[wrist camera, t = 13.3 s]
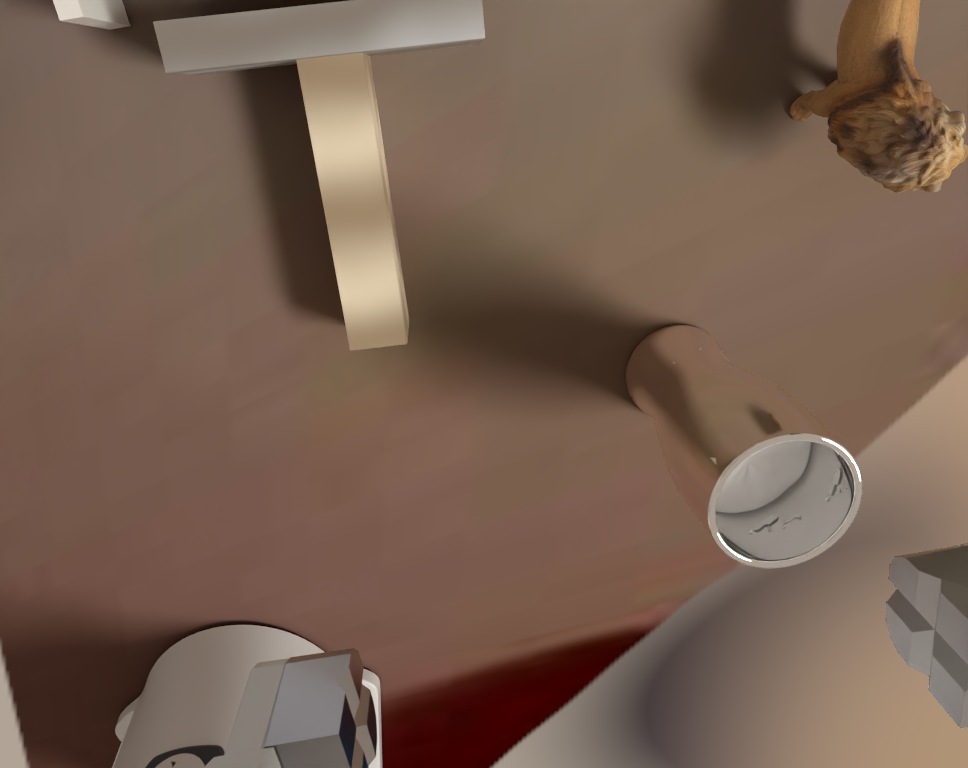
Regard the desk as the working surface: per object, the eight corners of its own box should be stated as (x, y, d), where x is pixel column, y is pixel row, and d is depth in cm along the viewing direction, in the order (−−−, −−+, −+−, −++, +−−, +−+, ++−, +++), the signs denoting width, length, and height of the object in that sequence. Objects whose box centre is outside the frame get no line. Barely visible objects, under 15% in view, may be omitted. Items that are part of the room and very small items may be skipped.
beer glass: (752, 373, 44) (898, 506, 30) (661, 443, 45) (761, 600, 31) (687, 293, 41) (813, 395, 28) (594, 369, 43) (670, 502, 29)
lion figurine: (885, 162, 39) (1006, 182, 31) (791, 188, 40) (886, 214, 31) (876, -151, 34) (1021, -228, 25) (766, -119, 34) (874, -186, 26)
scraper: (503, 310, 41) (512, 338, 37) (262, 338, 41) (241, 369, 36) (474, -1, 35) (480, -14, 30) (190, 30, 35) (152, 21, 30)
